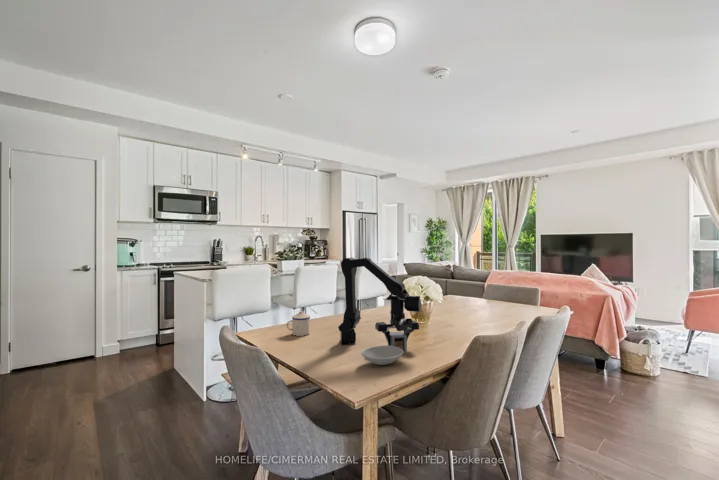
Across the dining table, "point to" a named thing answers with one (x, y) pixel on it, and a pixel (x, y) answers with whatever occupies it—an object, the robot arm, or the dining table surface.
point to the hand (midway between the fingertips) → (397, 345)
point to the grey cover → (398, 336)
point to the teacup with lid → (300, 324)
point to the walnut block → (398, 343)
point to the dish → (382, 354)
